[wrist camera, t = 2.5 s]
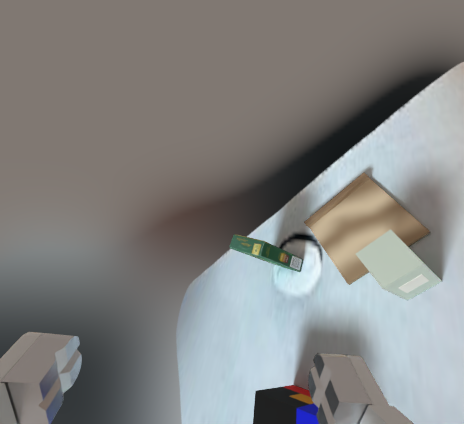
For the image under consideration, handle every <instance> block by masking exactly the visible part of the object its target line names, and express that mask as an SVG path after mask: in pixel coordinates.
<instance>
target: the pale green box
mask: <svg viewBox="0 0 464 424" xmlns="http://www.w3.org/2000/svg"><path fill="white" fill-rule="evenodd" d="M356 255H357V257H358V258H359V259H360V260H361V262H362V263H363V264H364V266H365V267H366V268H367V269H368V271H369V272H370V273H371V275H372V276H373V277H374V278H375V280H376V281H377V282H378V284H379V285H380V286H381V287H382V289H384V290H386V291H388V292H391V293H393V294H395V295H397V296H399V297H401V298H403V299H405V300H407V301H408V300H410V299H412V298H414V297H415V296H417V295H419V294H421V293H423V292H424V291H426V290H428V289H430V288H432V287H433V286H435V285H437V284H439V283H441V282H442V281H441V280H440V279H439V278H438V277H437V276H436V275H435V274H434V273H433V272H432V271H431V270H430V269H429V268H428V267H427V266H426V265H425V264H424V263H423V262H422V261H421V260H420V259H419V258H418V257H417V256H416V254H415V253H414V252H413V251H412V250H411V249H410V248H409V247H408V246H407V245H406V244H405V243H404V242H403V241H402V240H401V239H400V238H399V237H398V236H397V235H396V234H395V233H394V232H393V231H392V230H391V229H390V230H389V231H387V232H386V233H385V234H383V235H382V236H380V237H379V238H377V239H376V240H375V241H373V242H372V243H370V244H369V245H367V246H366V247H364V248H363V249H362V250H360V251H359V252H357V253H356Z"/></svg>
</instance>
